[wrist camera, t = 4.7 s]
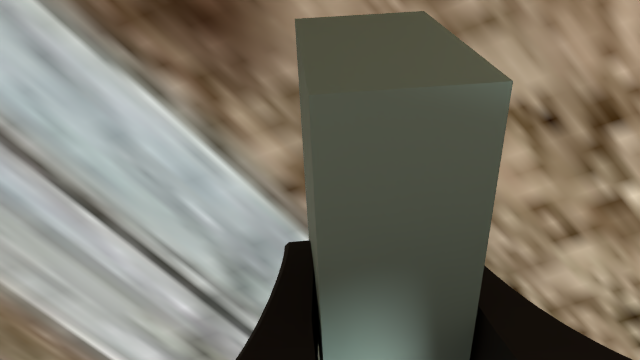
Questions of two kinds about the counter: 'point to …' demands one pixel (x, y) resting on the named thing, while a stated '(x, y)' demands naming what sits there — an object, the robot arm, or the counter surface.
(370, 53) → the rectangular block
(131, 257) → the counter surface
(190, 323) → the counter surface
